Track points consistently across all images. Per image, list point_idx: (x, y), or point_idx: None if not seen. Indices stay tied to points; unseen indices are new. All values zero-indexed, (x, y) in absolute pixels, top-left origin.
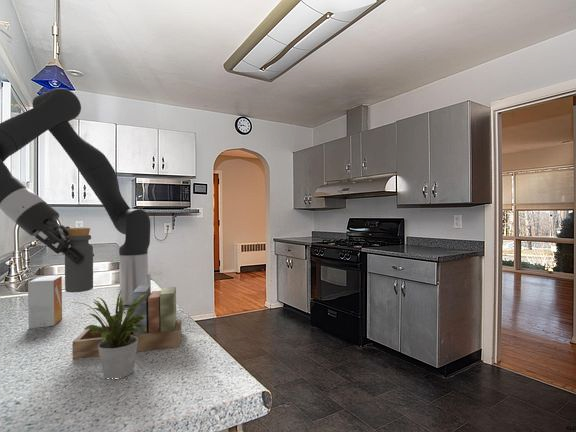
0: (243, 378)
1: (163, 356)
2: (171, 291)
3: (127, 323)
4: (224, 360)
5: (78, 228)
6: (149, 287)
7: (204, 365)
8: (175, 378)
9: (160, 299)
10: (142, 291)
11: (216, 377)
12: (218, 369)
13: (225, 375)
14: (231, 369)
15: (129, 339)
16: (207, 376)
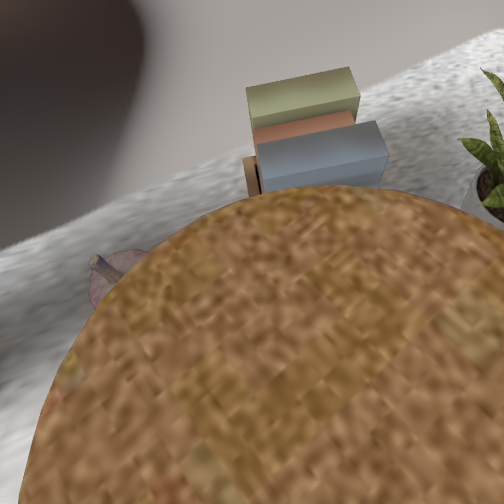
0: (474, 46)
1: (391, 176)
2: (322, 78)
3: (501, 163)
4: (406, 78)
5: (452, 419)
6: (282, 141)
7: (430, 101)
8: (489, 130)
9: (357, 108)
10: (372, 130)
11: (476, 77)
12: (445, 80)
13: (466, 68)
14: (443, 64)
15: (482, 184)
16: (474, 89)
